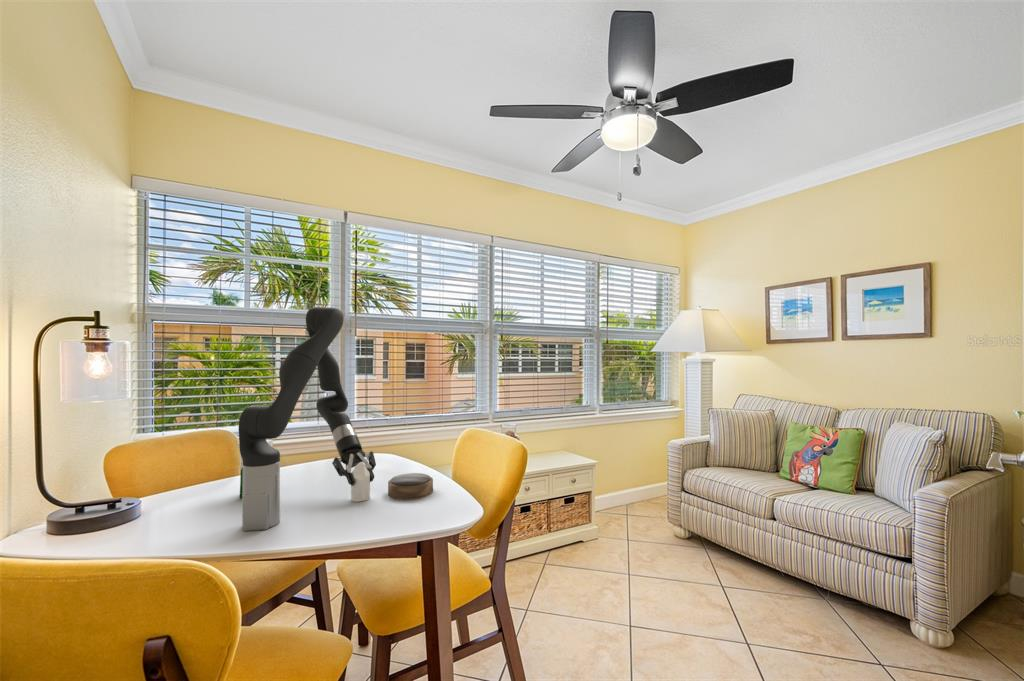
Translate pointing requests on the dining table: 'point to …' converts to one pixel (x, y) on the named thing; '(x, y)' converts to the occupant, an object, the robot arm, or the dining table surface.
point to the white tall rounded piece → (360, 483)
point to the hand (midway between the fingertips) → (362, 482)
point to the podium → (410, 486)
